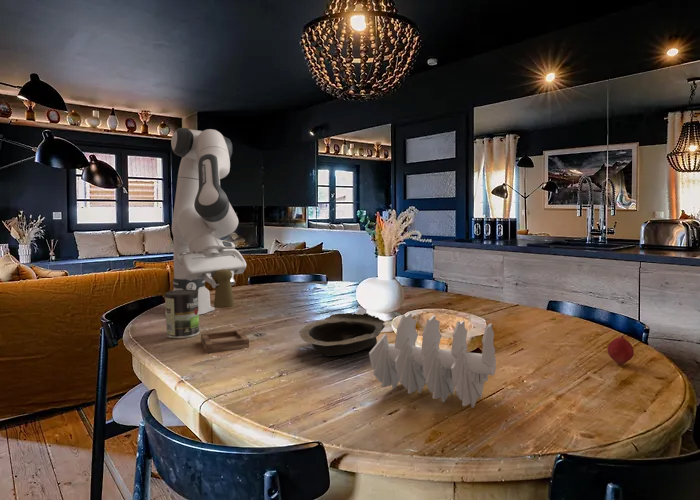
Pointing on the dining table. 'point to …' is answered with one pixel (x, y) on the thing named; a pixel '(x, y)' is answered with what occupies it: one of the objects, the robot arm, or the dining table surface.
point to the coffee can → (182, 313)
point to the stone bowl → (343, 333)
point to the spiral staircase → (434, 361)
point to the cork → (223, 289)
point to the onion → (620, 350)
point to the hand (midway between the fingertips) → (224, 285)
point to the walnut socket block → (224, 341)
